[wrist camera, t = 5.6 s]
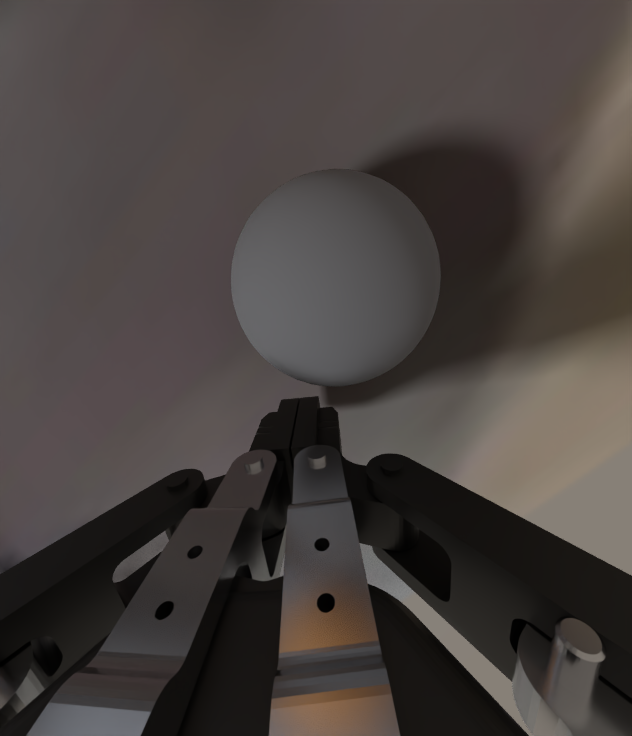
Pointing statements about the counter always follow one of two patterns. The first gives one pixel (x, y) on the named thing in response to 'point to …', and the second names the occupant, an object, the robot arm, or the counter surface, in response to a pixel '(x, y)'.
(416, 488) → the robot arm
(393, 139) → the counter surface
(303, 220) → the cue ball
